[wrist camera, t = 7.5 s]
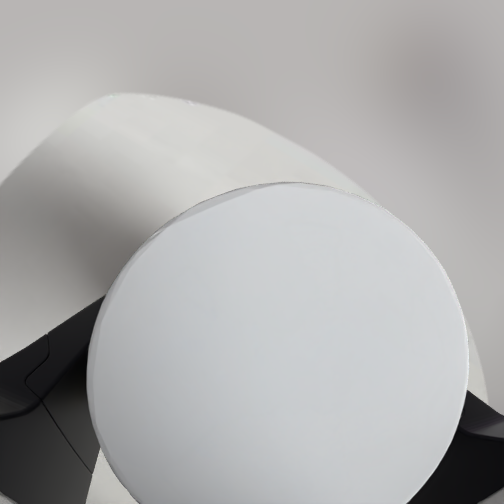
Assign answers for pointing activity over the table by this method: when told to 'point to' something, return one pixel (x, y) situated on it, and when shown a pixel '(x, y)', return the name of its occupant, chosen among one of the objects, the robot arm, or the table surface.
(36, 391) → the robot arm
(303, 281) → the supplement bottle
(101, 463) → the table surface
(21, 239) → the table surface
